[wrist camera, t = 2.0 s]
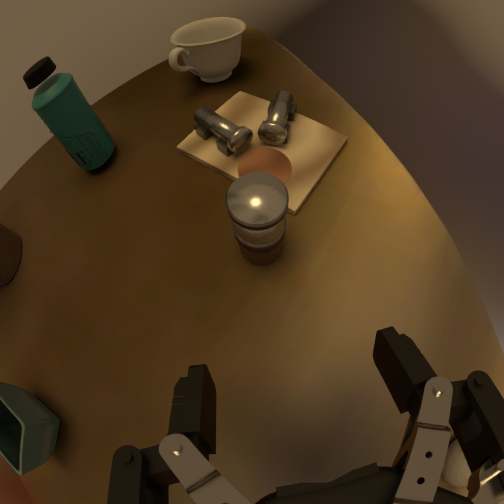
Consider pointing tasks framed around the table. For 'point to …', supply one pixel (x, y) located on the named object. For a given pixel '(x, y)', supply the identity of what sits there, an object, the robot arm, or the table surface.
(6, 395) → the flower pot
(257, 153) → the base board
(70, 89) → the beverage bottle
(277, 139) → the shaft
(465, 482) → the perfume bottle
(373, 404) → the table surface
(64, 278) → the table surface
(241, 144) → the shaft
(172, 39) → the teacup
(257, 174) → the disc
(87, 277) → the table surface
